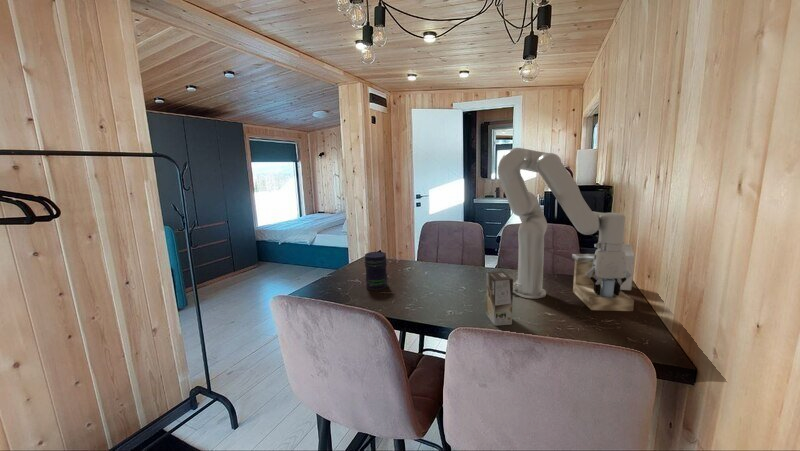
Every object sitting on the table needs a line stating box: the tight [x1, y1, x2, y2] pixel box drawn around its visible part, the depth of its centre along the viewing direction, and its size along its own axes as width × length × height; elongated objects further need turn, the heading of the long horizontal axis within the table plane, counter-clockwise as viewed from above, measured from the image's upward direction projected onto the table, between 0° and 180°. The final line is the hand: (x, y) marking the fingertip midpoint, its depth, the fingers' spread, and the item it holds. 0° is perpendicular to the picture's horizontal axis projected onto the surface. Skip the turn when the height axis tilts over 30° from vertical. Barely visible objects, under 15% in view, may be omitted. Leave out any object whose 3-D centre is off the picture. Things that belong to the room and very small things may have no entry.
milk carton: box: [614, 243, 635, 291], centre depth 139 cm, size 7×7×19 cm
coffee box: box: [485, 270, 514, 327], centre depth 114 cm, size 9×6×16 cm
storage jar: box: [364, 251, 388, 291], centre depth 151 cm, size 10×10×15 cm
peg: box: [600, 278, 615, 298], centre depth 123 cm, size 4×4×10 cm
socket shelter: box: [571, 253, 635, 312], centre depth 127 cm, size 16×18×16 cm
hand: (606, 293), depth 123 cm, fingers open, 5 cm apart
